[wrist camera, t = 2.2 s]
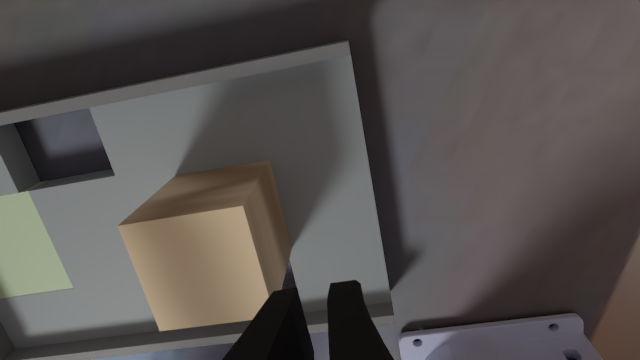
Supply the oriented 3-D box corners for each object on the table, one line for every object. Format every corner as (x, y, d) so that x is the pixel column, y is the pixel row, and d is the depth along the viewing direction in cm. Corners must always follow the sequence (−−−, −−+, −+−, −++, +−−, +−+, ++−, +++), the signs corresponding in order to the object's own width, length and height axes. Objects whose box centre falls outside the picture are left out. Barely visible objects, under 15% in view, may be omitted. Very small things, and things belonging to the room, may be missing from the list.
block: (269, 159, 18) (242, 205, 14) (291, 248, 20) (274, 317, 15) (174, 176, 19) (117, 225, 14) (203, 261, 20) (159, 331, 16)
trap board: (348, 39, 18) (348, 42, 14) (390, 292, 22) (397, 338, 19) (-91, 129, 21) (-174, 149, 17) (23, 338, 25) (-27, 386, 22)
